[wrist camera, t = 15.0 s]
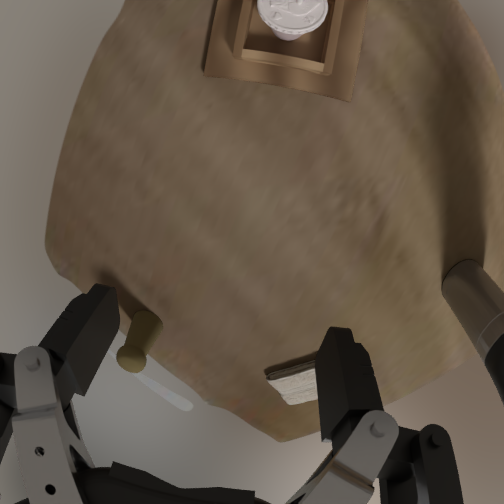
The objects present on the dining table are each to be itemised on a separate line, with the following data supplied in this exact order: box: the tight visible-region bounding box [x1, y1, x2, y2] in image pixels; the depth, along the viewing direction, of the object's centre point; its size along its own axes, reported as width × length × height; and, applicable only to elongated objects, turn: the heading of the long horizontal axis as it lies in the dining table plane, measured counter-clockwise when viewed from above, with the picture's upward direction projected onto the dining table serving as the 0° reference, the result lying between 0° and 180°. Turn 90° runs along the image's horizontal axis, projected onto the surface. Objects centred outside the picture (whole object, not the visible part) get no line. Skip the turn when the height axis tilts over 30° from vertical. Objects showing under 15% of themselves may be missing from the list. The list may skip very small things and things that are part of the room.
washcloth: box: [266, 360, 318, 405], centre depth 56 cm, size 12×18×3 cm, turn 118°
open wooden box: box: [204, 0, 368, 102], centre depth 26 cm, size 18×16×4 cm
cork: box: [116, 310, 163, 373], centre depth 47 cm, size 6×6×11 cm
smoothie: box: [257, 0, 328, 41], centre depth 21 cm, size 6×6×14 cm
